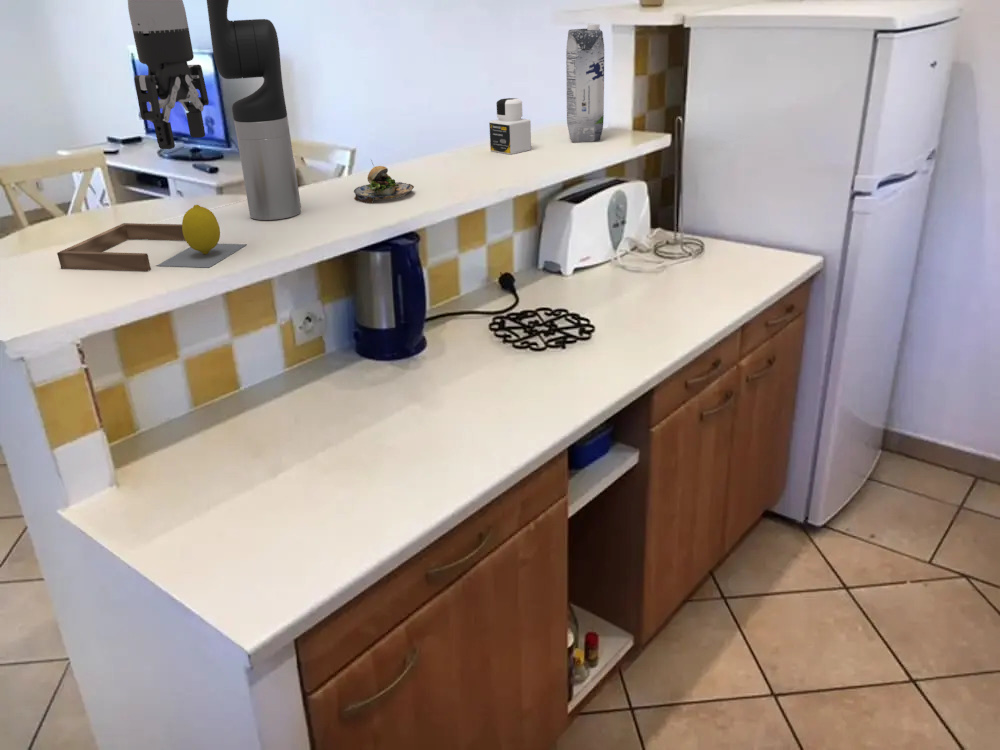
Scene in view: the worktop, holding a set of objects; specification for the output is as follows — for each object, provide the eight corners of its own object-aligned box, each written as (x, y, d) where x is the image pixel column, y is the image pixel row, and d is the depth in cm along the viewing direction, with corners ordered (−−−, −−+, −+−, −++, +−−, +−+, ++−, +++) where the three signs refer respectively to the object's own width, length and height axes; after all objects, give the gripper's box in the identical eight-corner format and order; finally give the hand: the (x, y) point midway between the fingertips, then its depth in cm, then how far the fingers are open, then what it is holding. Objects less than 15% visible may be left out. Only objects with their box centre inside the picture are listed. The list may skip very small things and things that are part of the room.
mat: (197, 243, 141) (197, 243, 141) (246, 244, 139) (246, 244, 139) (156, 266, 130) (156, 265, 130) (209, 267, 128) (209, 267, 128)
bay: (126, 237, 146) (123, 223, 145) (205, 239, 143) (202, 224, 142) (61, 268, 131) (56, 252, 130) (147, 271, 128) (143, 255, 127)
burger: (370, 208, 159) (366, 168, 156) (344, 197, 168) (339, 159, 165) (426, 197, 165) (423, 159, 162) (398, 187, 174) (394, 150, 171)
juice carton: (567, 143, 209) (567, 25, 197) (566, 136, 218) (565, 23, 207) (604, 142, 208) (605, 24, 197) (601, 135, 218) (602, 21, 206)
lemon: (229, 249, 137) (220, 200, 133) (215, 259, 132) (205, 209, 128) (196, 249, 137) (186, 200, 134) (181, 259, 132) (171, 209, 129)
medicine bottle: (490, 151, 204) (487, 99, 199) (511, 146, 208) (509, 96, 203) (510, 154, 199) (508, 101, 194) (531, 150, 203) (530, 98, 198)
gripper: (164, 23, 127) (186, 134, 134) (105, 31, 115) (132, 152, 122) (210, 22, 126) (229, 134, 133) (155, 30, 113) (179, 152, 120)
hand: (183, 142), depth 127 cm, fingers open, 8 cm apart
